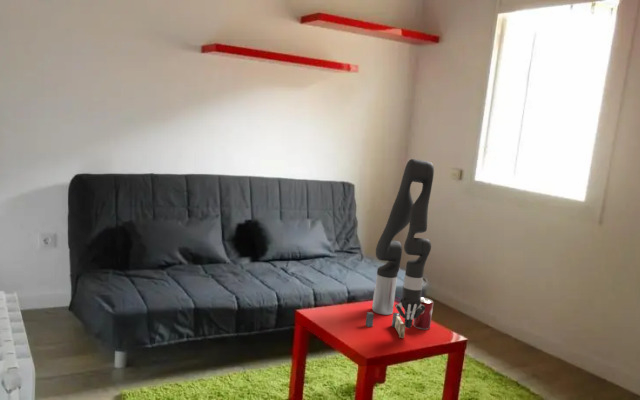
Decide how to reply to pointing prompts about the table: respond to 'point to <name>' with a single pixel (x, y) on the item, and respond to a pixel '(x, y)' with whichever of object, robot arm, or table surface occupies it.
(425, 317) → the soda can
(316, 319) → the table surface
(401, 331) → the gate
